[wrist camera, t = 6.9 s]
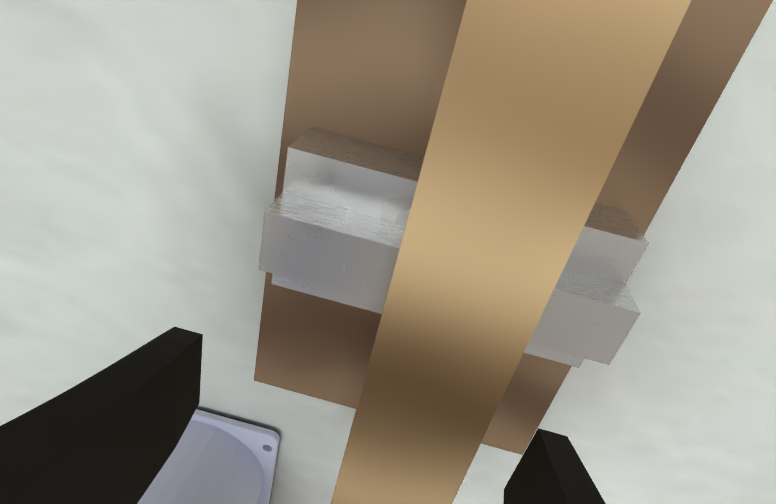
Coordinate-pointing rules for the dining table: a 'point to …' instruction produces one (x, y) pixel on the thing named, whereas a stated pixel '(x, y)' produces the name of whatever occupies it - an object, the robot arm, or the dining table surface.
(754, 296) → the dining table surface
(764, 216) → the dining table surface
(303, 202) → the grey piece
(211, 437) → the robot arm
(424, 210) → the oak beam
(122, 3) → the dining table surface
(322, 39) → the base board
